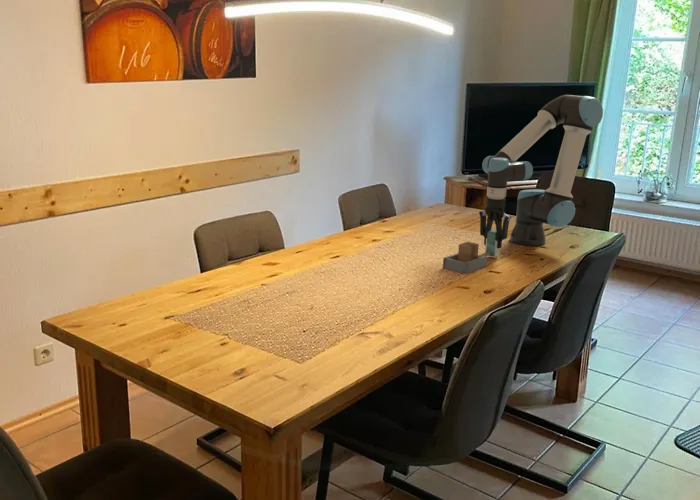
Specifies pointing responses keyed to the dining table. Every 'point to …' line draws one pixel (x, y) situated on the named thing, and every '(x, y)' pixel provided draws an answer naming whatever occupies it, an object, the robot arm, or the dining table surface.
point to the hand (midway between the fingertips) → (492, 254)
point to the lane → (463, 264)
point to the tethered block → (470, 249)
